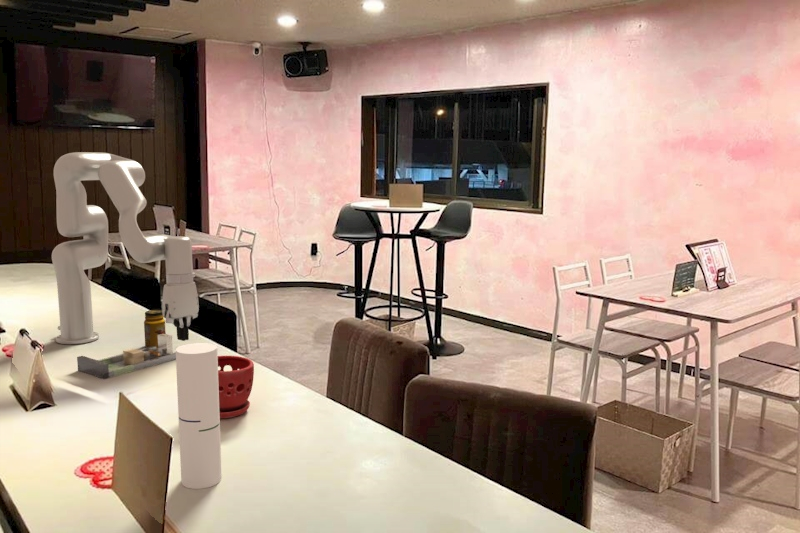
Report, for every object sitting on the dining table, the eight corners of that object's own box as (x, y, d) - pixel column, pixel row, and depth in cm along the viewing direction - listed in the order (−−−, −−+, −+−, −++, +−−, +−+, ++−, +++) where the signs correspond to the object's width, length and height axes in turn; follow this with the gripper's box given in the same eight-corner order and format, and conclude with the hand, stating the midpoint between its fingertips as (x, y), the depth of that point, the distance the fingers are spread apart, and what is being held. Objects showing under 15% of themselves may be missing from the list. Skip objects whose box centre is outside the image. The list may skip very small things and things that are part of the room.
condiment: (170, 350, 214) (168, 312, 212) (141, 355, 209) (139, 315, 207) (163, 345, 220) (161, 307, 218) (135, 349, 215) (133, 310, 213)
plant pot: (203, 426, 155) (201, 374, 153) (191, 407, 167) (189, 358, 165) (261, 416, 161) (260, 366, 159) (246, 399, 173) (244, 351, 171)
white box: (136, 358, 200) (135, 339, 199) (163, 351, 207) (162, 333, 207) (153, 363, 196) (152, 344, 195) (179, 355, 203) (179, 337, 202)
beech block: (123, 362, 197) (123, 350, 196) (133, 360, 199) (132, 348, 199) (134, 366, 194) (133, 353, 194) (144, 363, 197) (143, 351, 196)
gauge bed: (78, 374, 190) (77, 357, 189) (154, 354, 209) (153, 338, 208) (104, 383, 183) (102, 364, 182) (180, 361, 202) (179, 344, 202)
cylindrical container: (185, 471, 133) (180, 343, 129) (224, 470, 134) (220, 342, 130) (177, 489, 126) (171, 354, 122) (218, 488, 127) (213, 353, 123)
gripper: (192, 274, 215) (195, 332, 218) (150, 281, 203) (153, 343, 206) (208, 276, 211) (211, 336, 213) (166, 283, 198) (170, 347, 201)
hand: (183, 339), depth 209 cm, fingers closed
